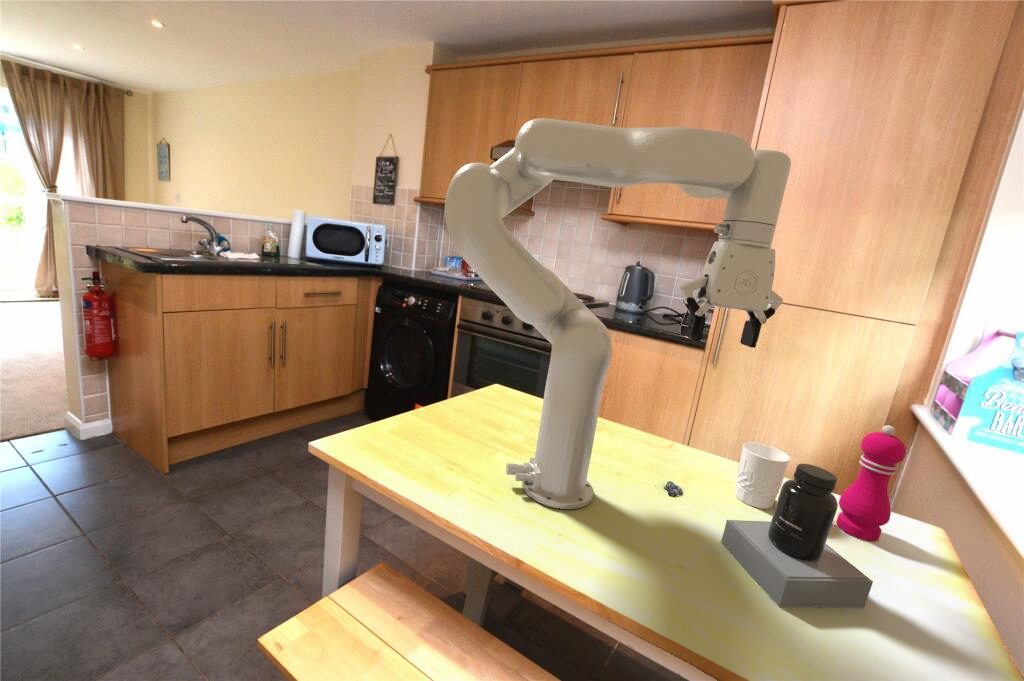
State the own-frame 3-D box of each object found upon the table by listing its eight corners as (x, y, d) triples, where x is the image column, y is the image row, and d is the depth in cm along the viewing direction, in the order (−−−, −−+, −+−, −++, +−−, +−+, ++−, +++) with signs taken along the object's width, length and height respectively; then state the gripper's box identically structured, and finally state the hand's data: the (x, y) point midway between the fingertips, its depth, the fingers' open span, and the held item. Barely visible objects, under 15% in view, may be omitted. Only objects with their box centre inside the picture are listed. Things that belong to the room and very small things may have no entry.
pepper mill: (869, 547, 77) (905, 436, 73) (824, 522, 83) (855, 418, 79) (890, 539, 80) (926, 432, 76) (845, 515, 86) (876, 416, 82)
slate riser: (779, 607, 60) (787, 579, 59) (721, 542, 72) (726, 519, 71) (864, 607, 62) (873, 580, 61) (793, 544, 74) (800, 521, 73)
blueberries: (654, 501, 84) (656, 492, 84) (648, 476, 92) (650, 468, 91) (692, 508, 83) (694, 499, 83) (682, 483, 91) (684, 474, 91)
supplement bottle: (769, 550, 64) (791, 472, 62) (764, 526, 71) (784, 454, 68) (826, 569, 62) (851, 489, 59) (816, 543, 68) (838, 469, 66)
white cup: (783, 515, 83) (797, 465, 81) (737, 505, 85) (750, 455, 83) (768, 493, 91) (780, 447, 89) (726, 485, 92) (738, 439, 90)
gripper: (708, 227, 66) (683, 342, 70) (812, 244, 69) (783, 353, 73) (682, 228, 74) (661, 332, 77) (778, 243, 76) (753, 343, 80)
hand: (720, 342), depth 75 cm, fingers open, 9 cm apart
